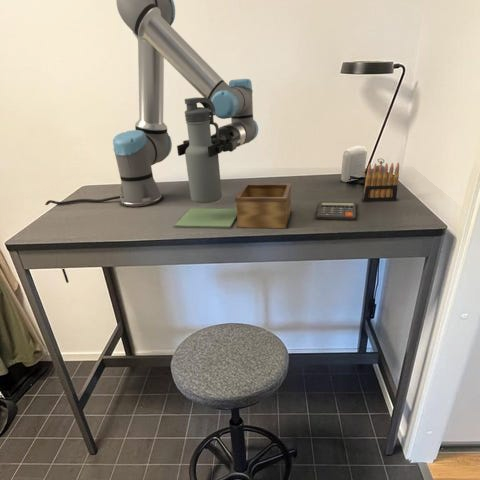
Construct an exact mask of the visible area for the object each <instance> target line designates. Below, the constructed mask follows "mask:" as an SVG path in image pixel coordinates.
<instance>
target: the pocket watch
mask: <svg viewBox="0 0 480 480" xmlns="http://www.w3.org/2000/svg"><path fill="white" fill-rule="evenodd" d="M377 162H378V163H379V164H378V165H377V172H376V179H377V175H378V170H379V166H380V164H381V163H382V164H384V163H385V160H384V159H383V158H381V160H380V158H378V159H377ZM384 168H385V165H382V176H383V172H384ZM372 173H373V168H371V177H372ZM388 175H389V172H388V173H387V179H388ZM381 182H382V181H381Z"/></svg>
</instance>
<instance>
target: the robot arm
mask: <svg viewBox="0 0 480 480" xmlns="http://www.w3.org/2000/svg"><path fill="white" fill-rule="evenodd" d="M116 8H117V12H118V14H119V16H120V18H121V19H122V21H123V22H124V24H125V25H126V26H127V27H128V28H129V29H130V30H131V31H132V34H133V35H134V37H135V38H136V39H137V57H138V60H137V66H138V111H139V112H138V113H139V115H138V116H139V119H138V120H137V121H136V122H135V124H134V125H135V126H134V127H135V128H134V129H132V130H126V131H123V132H120V133H118V134H116V135H115V136H114V137H113V139H112V145H113V152H114V155H115V156H114V157H115V160H116V164H117V169H118V173H119V178H120V192H119V195H117V196H111V197H105V198H101V199H99V198H98V199H93V198H81V199H80V198H79V199H78V198H77V199H71V200H65V201H56V200H54V199H53V200H52V199H51V200H47V201H46V202H45V204H44V205H45V206H48V205H49V204H54V205H67V204H73V203H82V202H87V203H89V202H90V203H103V202H109V201H113V200H119V201H120V204H121V205H122V206H123V207H129V208H138V207H146V206H151V205H154V204H157V203H158V202H160V201H161V200H162V199H163V197H162V193H161V191H160V188H159V186H158V185H157V184H158V183H156V181H155V178H154V175H153V174H154V173H153V169H152V166H153V165H156V164H158V163H161V162H163V161H164V160H166V158H168V157H169V155H170V154H171V151H172V147H173V144H172V143H173V141H172V137H171V136H170V135H169V133H168V126H167V124H166V123H165V122H164V102H165V100H164V98H165V97H164V93H165V92H164V91H165V60H166V62H168V63H169V64H170V65H171V66H172V67H173V68H174V70H175V71H177V72H178V74H180V75H181V77H183V78H184V80H186V81H187V82H188V83H189V84H190V85H191V87H193V88H194V89H195V90H196V91H197V92H198V93H199V94H200V95H201V97H202V98H208V99H209V100H211V101H212V103H213V105H214V107H215V115H214V116H215V117H216V118H218V119H221V120H226V119H231V120H230V121H231V123H230V122H229V123H227V124H225V125H222V126H219V127H218V128H219V141H217V142H213V141H211V142H212V144H213V145H211V146H208V155H209V157H212V156H214V155H217V154H218V155H219V154H221V153H226V152H230V153H232V152H234V151H235V150H236V149H237V148H238V147H240V146H243V145H245V144H249V143H251V142H252V141H254V140H255V139H256V137H258V134H259V126H258V123H257V121H256V120H255V119H254V108H253V107H254V105H253V84H252V80H251V79H250V78H237V79H230V80H229V82H228V83H227V82H226V81H225V80H224V79H223V78H222V77H221V76H220V75H219V73H217V72H216V71H215V69H213V67H211V66H210V65H209V63H208V62H206V61H205V59H203V57H201V55H199V54H198V52H197V51H196V50H195V49H194V48H193V47H192V46H191V45H190V44H189V43H188V42H187V41H186V40H185V39H184V38H183V36H181V34H179V33H178V32H177V31H176V29H174V28H173V26H172V25H173V23H174V21H175V19H176V6H175V2H174V0H116ZM211 139H216V132H215V133H213V134H211ZM188 147H189V139H186V140H185V139H184V140H182V143H181V144H178V145H176V149H177V156H178V157H181V156H183V155H184V156H185V151H186V149H187V148H188ZM61 270H62V273H63V276H64V280H65V283H67V284H68V283H69V282H70V281H69V278H68V276H67V273H66V272H67V271H66V269H65V268H64V269H62V268H61Z"/></svg>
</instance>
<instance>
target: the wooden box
mask: <svg viewBox="0 0 480 480" xmlns="http://www.w3.org/2000/svg"><path fill="white" fill-rule="evenodd" d="M291 193H292V183H244V185H243V186H242V188H241V189H240V191H239V192H238V194H237V195H236V196H235V199H234V201H235V202H236V204H235V205H236V209H237V218H236V219H237V228H246V229H247V228H252V229H255V228H256V229H257V228H258V229H286V228H287V225H288V221H289V219H290V215H291V212H292V211H291V209H292V208H291V207H292V206H291V202H292V201H291V200H292V199H291V198H292V194H291Z"/></svg>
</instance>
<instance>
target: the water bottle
mask: <svg viewBox="0 0 480 480" xmlns="http://www.w3.org/2000/svg"><path fill="white" fill-rule="evenodd" d="M198 104H200V105H202V107H201V106H198ZM184 105H186V106H185V107H186V110H185V111H184V119H185V124H186V127H187V136H188V140H189V147H188V148H187V149H186V151H185V154H184V156H185V163H186V172H187V179H188V187H189V195H190V199H191V201H192V202H194V203H197V204H211V203H214V202H218V201H219V200H221V198H222V195H223V194H222V184H221V181H222V180H221V173H220V171H221V170H220V159H219V154H217V155H214V156H212V157H209V155H208V146H211V145H213V144H212V142H211V141H213V142H217V141H219V128H220V127H219V124H218V123H217V122H215V120H214V119H215V118H214V117H215V116H216V115H215V107H214V105H213V103H212V101H211V100H209V99H208V98H204V97H199V96H197V97H187V98H184ZM211 125H212V126H214V127H215V133H216V139H211V135H212V134H211V133H212V132H211Z"/></svg>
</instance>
